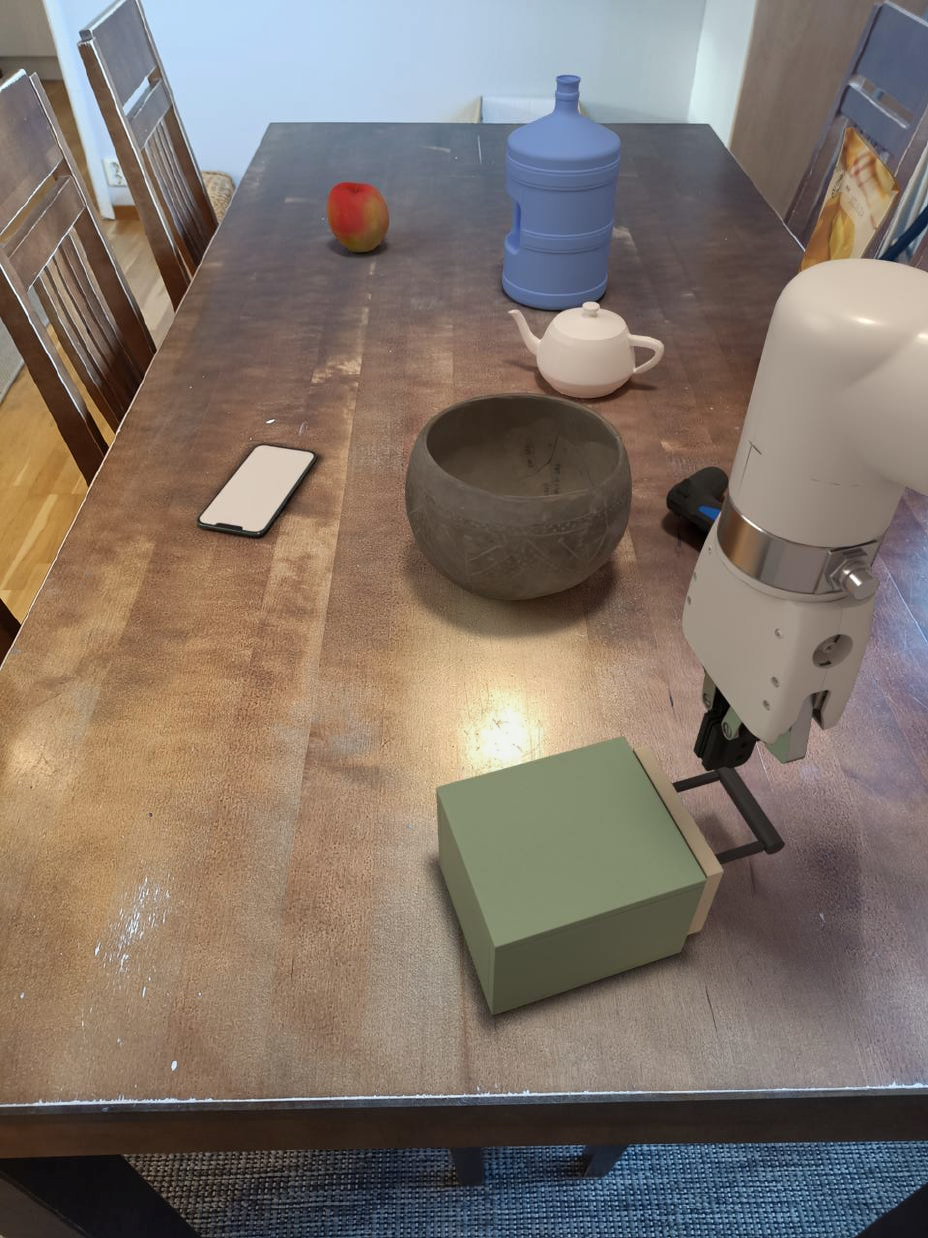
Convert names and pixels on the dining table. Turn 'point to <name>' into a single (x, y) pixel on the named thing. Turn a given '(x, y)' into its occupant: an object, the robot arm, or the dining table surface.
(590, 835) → the cabinet
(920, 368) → the robot arm
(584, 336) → the teapot
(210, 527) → the smartphone
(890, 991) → the dining table surface
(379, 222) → the apple
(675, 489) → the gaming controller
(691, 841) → the drawer
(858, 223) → the pancake mix bag
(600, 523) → the bowl
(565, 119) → the water jug
